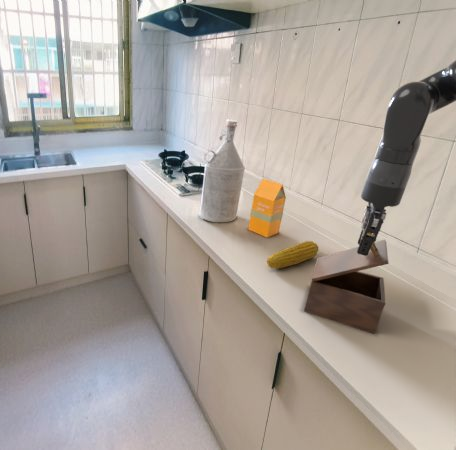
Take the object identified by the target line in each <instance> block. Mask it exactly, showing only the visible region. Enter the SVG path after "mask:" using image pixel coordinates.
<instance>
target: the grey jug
mask: <svg viewBox="0 0 456 450" xmlns="http://www.w3.org/2000/svg"><path fill="white" fill-rule="evenodd" d="M237 123H238V120H235V119H232V118H227V119H226V125H225V127H224V128H226V131H225V129H224V128H223V129H221V134H220V135H219V137H218V139H219V141H222V140H223V138H224V136H225V140H224V141H223V142H222V143H221V145H220V146H219V148H217V150H216V151H215V152H214V150H211V149H208V150H207V151H205V152H204V154H203V156H204V157H203V160H205V162H206V163H205V164H204V171H203V179H202V189H201V199H200V209H199V214H198V215H199V217H200V218H201V219H202V220H205V221H208V222H213V223H228V222H232V221H235V220H236V219H237V215H238V210H239V209H238V208H239V204H240V197H241V191H242V186H243V181H244V176H245V175H244V174H245V170H246V167H245V165H244V162H243V161H242V159H241V156H240V154H239V152H238V150H237V148H236V146H235V144H234V138H235V133H236V129H237V127H238V124H237ZM223 133H225V134H223ZM209 153H212V156H211V157H210V159H209V160H206V159H207V155H208V154H209Z"/></svg>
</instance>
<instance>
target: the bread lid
mask: <svg viewBox="0 0 456 450" xmlns="http://www.w3.org/2000/svg"><path fill="white" fill-rule="evenodd" d="M367 235H369V236H373V233H367ZM358 247H359V246H356V247H353V248H349V249H345V250H341V251H338V252H334V253H329V254H326V255H323V256H319V257H317V259H316V262H315V265H314V268H313V271H312V276H311V282H312V281H318V280H322V279H326V278H330V277H335V276H339V275H343V274H347V273H352V272H356V271H359V272H361V271H365V270H368V269H372V268H377V267H381V266H385V265H389V255H388V254H389V253H388V246H387V241H386V239H381V240H378V241H377V240H376V241H375V242H372V245H371V248H370V250H369V253H368V255H367V256H364V255H361V254H358V253H357V250H358Z"/></svg>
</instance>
